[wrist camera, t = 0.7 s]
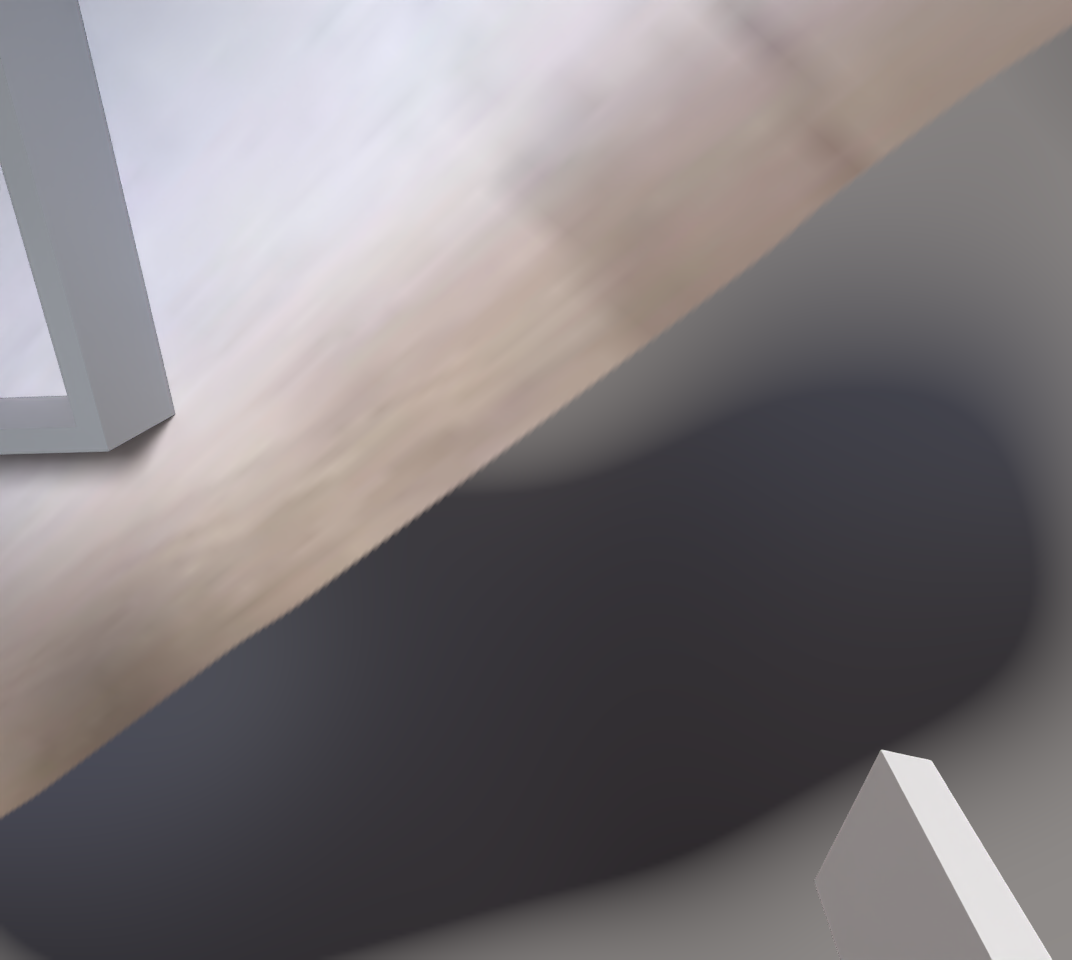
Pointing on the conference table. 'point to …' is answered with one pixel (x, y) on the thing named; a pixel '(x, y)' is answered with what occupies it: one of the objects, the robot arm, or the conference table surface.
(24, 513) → the conference table surface
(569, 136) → the conference table surface
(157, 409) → the grey bin
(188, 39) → the conference table surface
